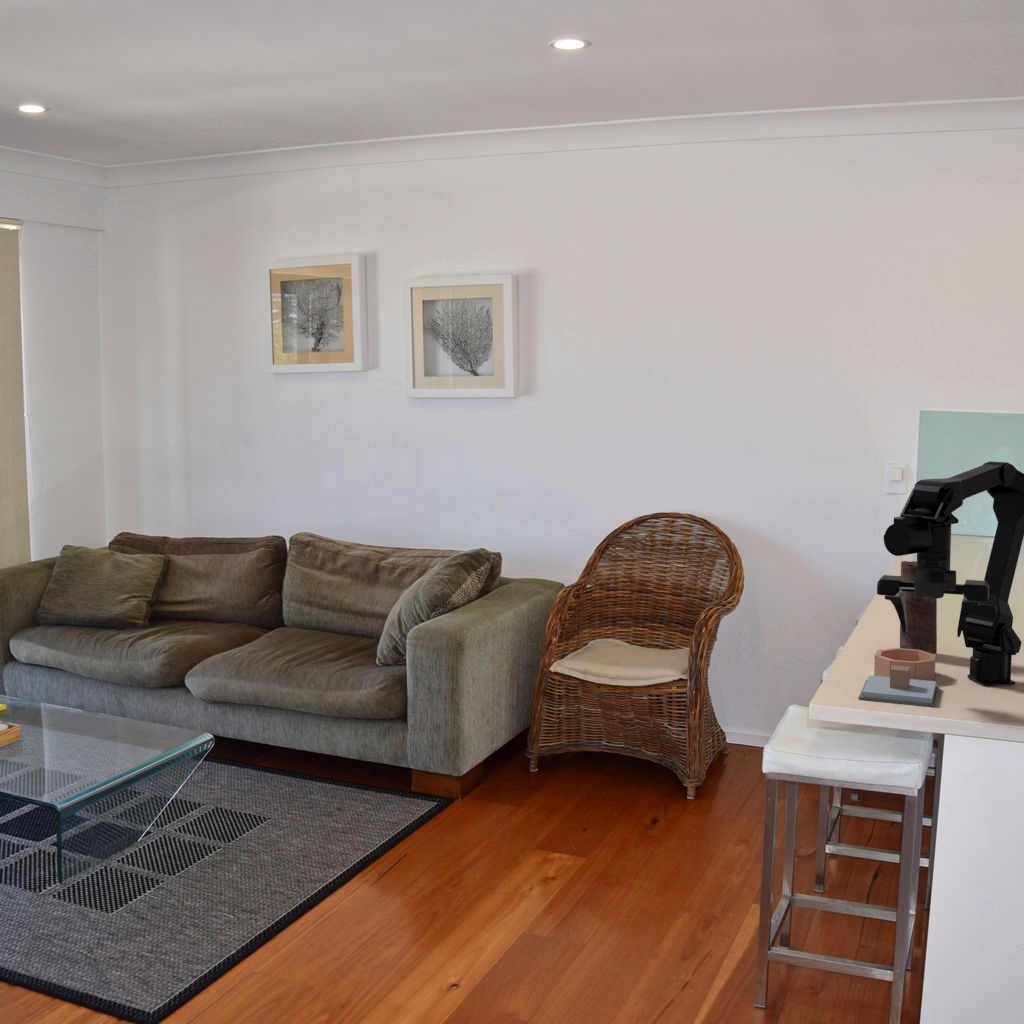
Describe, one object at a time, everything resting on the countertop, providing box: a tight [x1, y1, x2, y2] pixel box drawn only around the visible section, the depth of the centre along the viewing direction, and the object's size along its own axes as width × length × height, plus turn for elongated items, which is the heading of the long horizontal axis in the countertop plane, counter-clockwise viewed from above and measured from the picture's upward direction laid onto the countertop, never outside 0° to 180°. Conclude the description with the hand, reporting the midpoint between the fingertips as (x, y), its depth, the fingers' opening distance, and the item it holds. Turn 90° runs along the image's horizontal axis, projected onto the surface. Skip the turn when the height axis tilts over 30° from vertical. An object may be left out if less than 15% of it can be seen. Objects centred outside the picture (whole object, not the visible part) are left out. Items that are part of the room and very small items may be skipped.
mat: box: [858, 679, 939, 708], centre depth 206 cm, size 13×13×1 cm
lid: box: [861, 665, 937, 704], centre depth 206 cm, size 12×12×4 cm
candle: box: [899, 560, 938, 655], centre depth 234 cm, size 8×7×20 cm
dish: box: [873, 647, 937, 681], centre depth 219 cm, size 11×11×4 cm
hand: (931, 634), depth 203 cm, fingers open, 9 cm apart
